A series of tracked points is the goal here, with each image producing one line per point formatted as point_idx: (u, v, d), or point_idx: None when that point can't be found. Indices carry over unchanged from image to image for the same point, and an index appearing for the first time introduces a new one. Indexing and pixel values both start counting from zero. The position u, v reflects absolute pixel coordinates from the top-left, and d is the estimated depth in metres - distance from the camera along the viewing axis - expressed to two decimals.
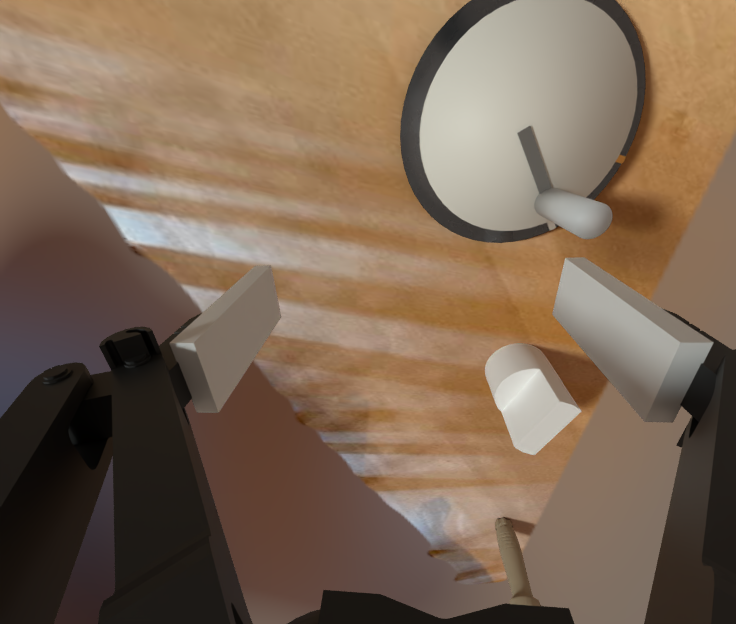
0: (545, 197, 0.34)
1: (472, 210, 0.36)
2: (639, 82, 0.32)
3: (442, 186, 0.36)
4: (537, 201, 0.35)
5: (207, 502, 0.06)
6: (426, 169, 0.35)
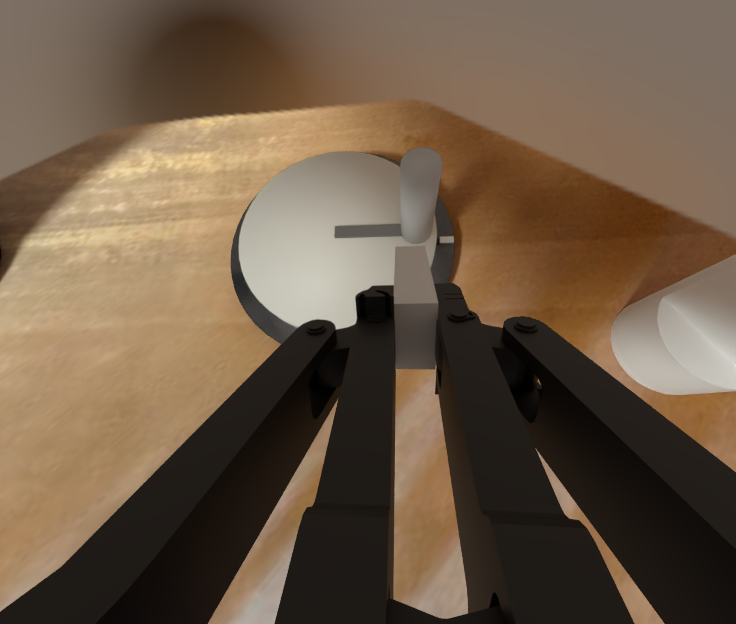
0: (402, 226, 0.30)
1: None
2: None
3: (339, 319, 0.30)
4: (406, 238, 0.31)
5: (392, 470, 0.07)
6: None
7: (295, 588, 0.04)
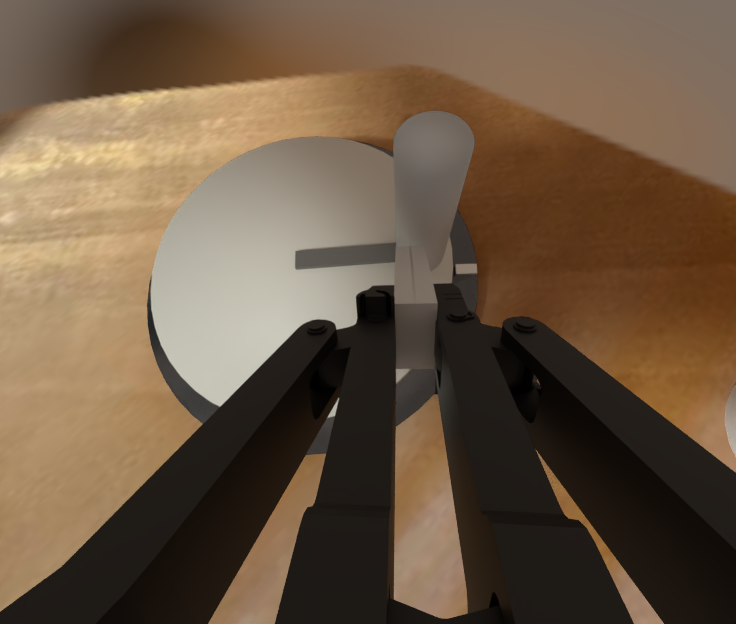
0: None
1: None
2: None
3: None
4: None
5: None
6: None
7: (295, 588, 0.04)
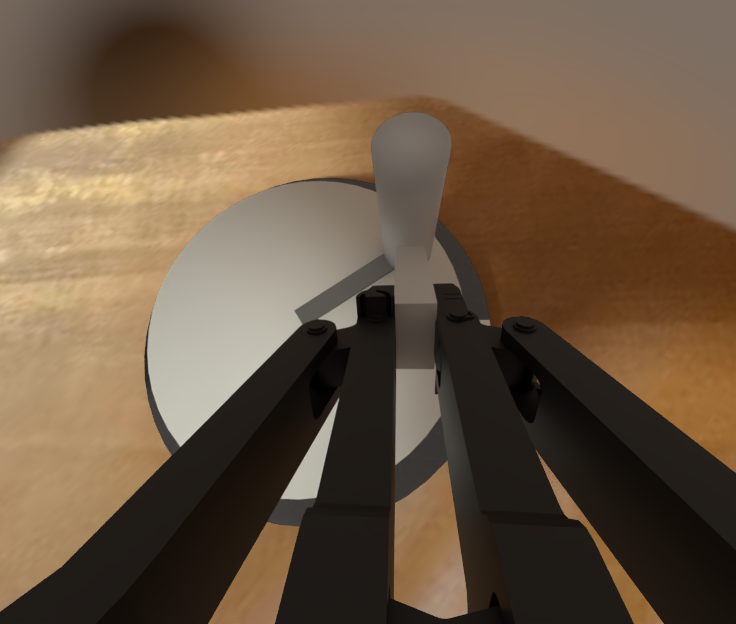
0: None
1: (433, 376, 0.19)
2: None
3: None
4: None
5: None
6: None
7: (295, 588, 0.04)
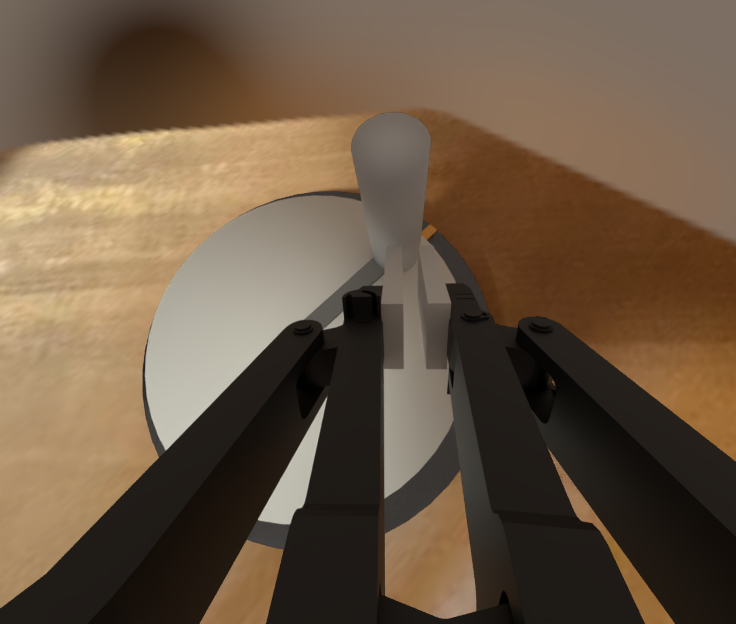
0: None
1: (444, 370, 0.19)
2: None
3: (415, 444, 0.18)
4: None
5: (381, 468, 0.07)
6: (393, 488, 0.17)
7: (286, 590, 0.04)
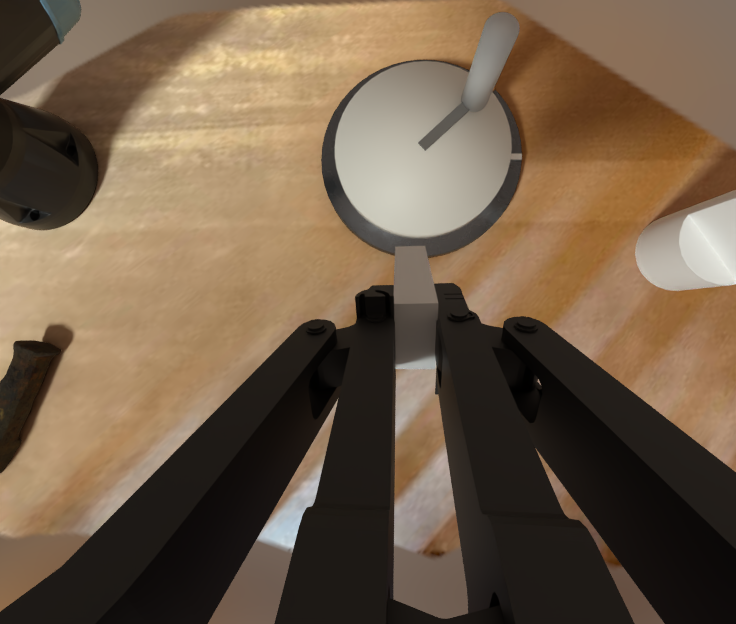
0: (474, 100, 0.36)
1: (497, 164, 0.37)
2: None
3: (481, 199, 0.37)
4: (477, 108, 0.37)
5: (392, 470, 0.07)
6: (469, 218, 0.37)
7: (295, 588, 0.04)
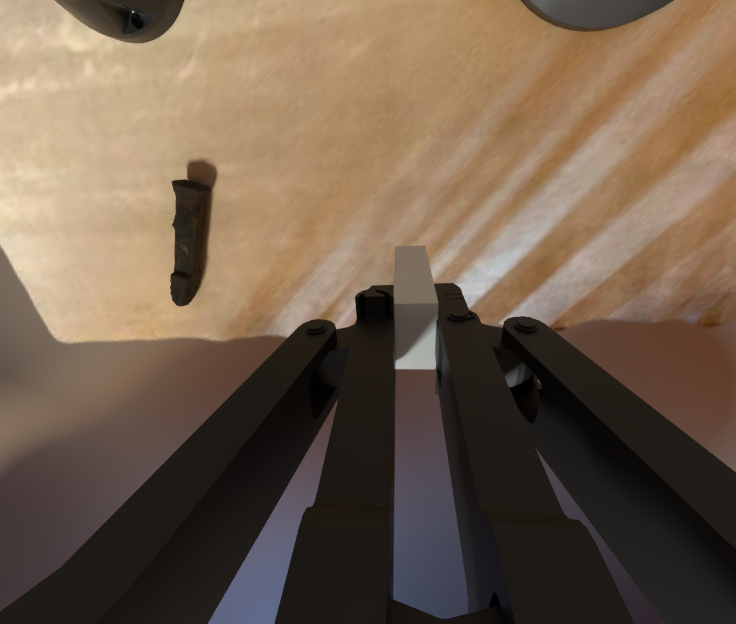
0: None
1: None
2: None
3: None
4: None
5: (392, 470, 0.07)
6: None
7: (295, 588, 0.04)
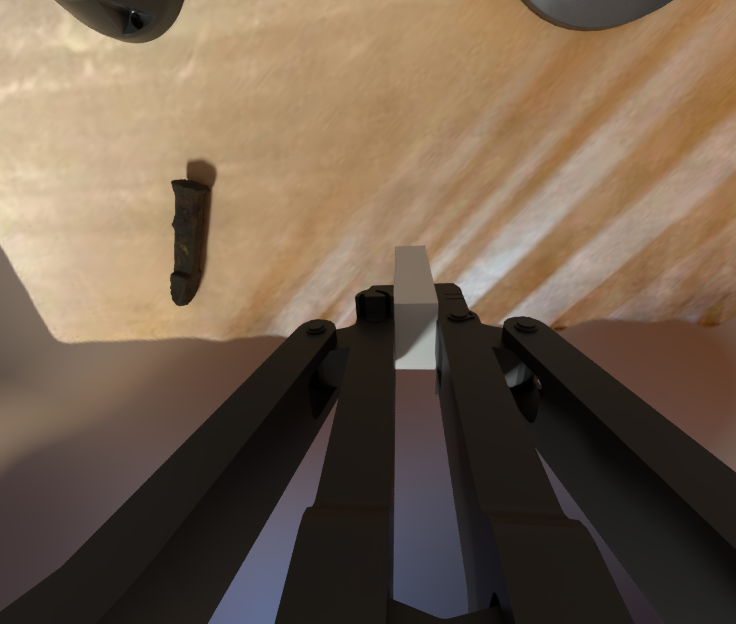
0: None
1: None
2: None
3: None
4: None
5: (392, 470, 0.07)
6: None
7: (295, 588, 0.04)
